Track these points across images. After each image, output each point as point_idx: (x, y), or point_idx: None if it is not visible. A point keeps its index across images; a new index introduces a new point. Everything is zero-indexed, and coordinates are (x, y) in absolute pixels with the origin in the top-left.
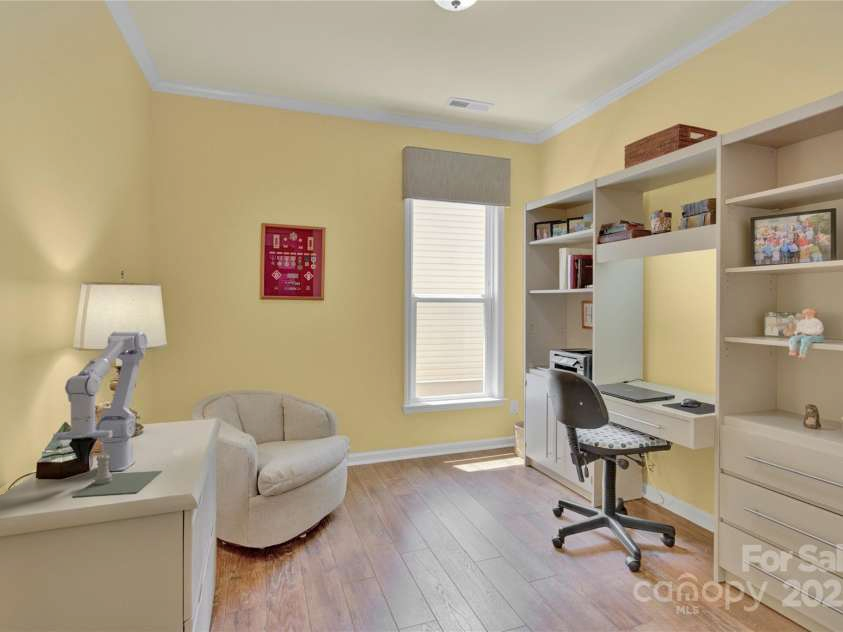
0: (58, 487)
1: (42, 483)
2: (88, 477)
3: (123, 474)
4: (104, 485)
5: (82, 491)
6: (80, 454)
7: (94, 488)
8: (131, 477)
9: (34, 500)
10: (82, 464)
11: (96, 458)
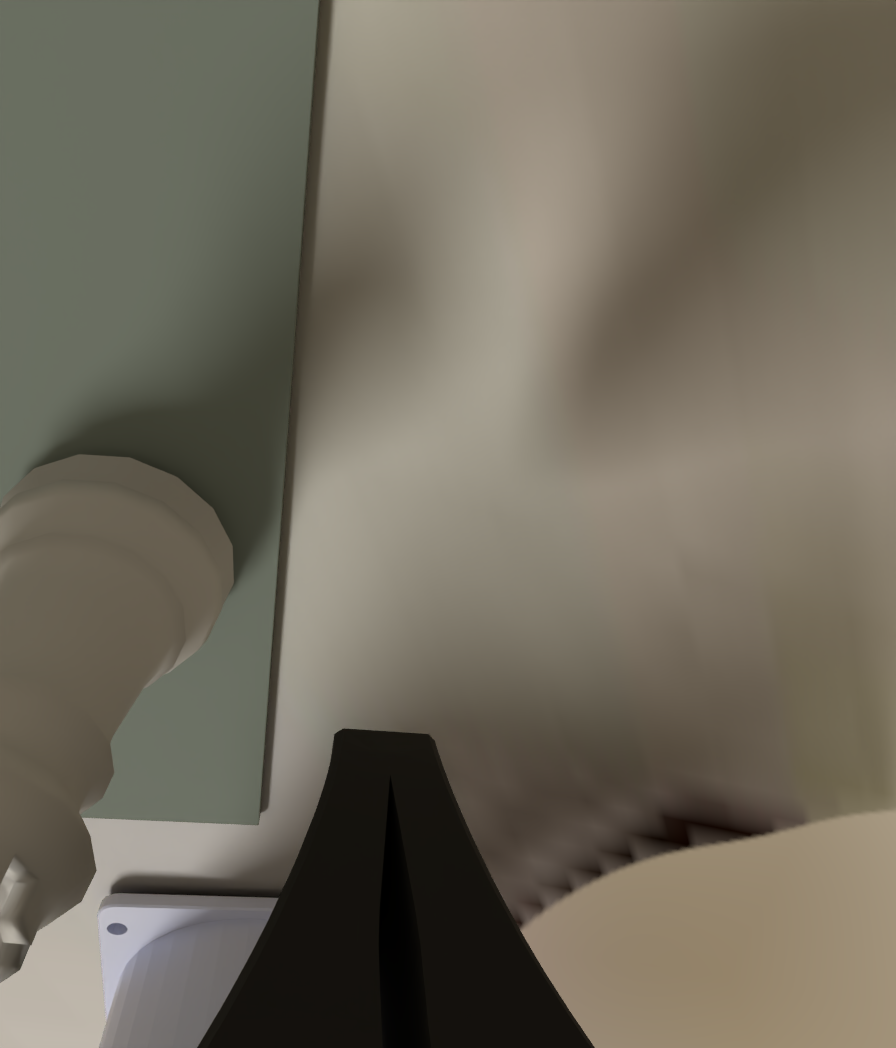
0: (655, 553)
1: (838, 724)
2: None
3: None
4: (26, 408)
5: (246, 203)
6: (411, 944)
7: (117, 307)
8: None
9: (869, 66)
10: (369, 737)
11: (74, 844)
